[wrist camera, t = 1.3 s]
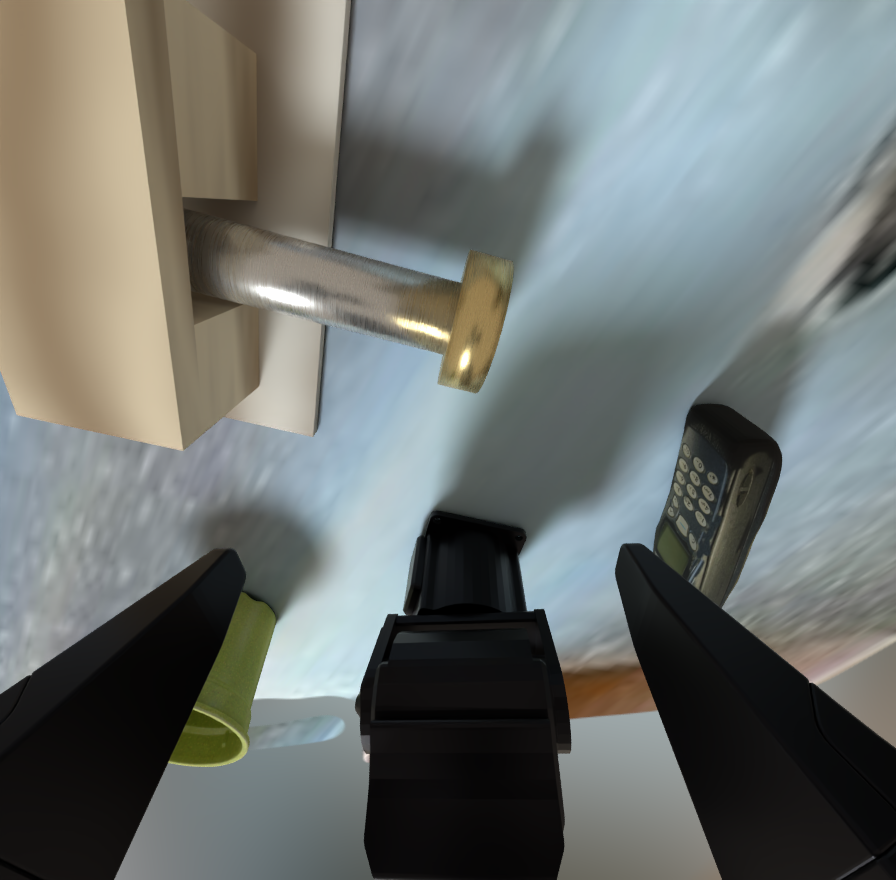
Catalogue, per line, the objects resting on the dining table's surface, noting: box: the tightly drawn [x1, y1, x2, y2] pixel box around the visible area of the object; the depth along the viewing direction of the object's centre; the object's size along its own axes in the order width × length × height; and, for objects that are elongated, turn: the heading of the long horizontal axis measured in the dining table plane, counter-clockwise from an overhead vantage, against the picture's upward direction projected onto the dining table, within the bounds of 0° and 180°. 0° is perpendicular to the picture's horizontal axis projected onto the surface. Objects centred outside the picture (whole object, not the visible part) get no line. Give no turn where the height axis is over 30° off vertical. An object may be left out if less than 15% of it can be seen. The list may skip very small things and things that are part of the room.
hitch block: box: [0, 0, 351, 451], centre depth 14 cm, size 9×18×7 cm, turn 166°
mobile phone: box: [653, 404, 782, 608], centre depth 22 cm, size 5×3×15 cm
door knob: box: [183, 208, 514, 393], centre depth 15 cm, size 16×5×5 cm, turn 76°
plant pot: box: [168, 592, 276, 767], centre depth 28 cm, size 9×9×9 cm
